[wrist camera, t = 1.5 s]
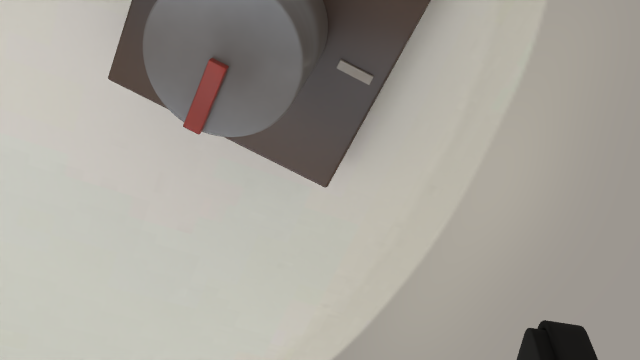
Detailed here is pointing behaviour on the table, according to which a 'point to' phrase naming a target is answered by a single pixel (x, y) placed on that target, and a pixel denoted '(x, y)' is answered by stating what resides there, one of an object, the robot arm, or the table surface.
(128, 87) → the panel
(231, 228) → the table surface
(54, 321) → the table surface
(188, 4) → the dial
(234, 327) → the table surface
